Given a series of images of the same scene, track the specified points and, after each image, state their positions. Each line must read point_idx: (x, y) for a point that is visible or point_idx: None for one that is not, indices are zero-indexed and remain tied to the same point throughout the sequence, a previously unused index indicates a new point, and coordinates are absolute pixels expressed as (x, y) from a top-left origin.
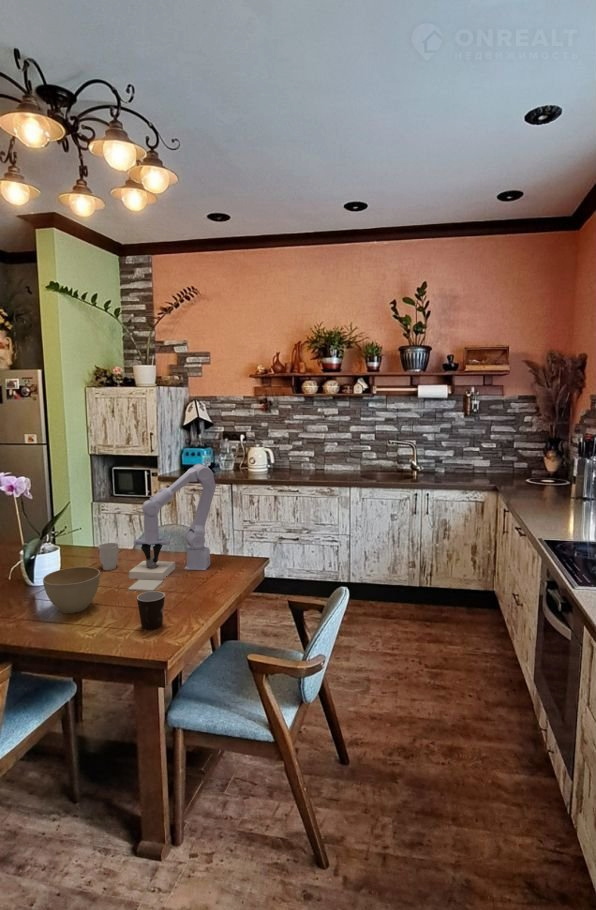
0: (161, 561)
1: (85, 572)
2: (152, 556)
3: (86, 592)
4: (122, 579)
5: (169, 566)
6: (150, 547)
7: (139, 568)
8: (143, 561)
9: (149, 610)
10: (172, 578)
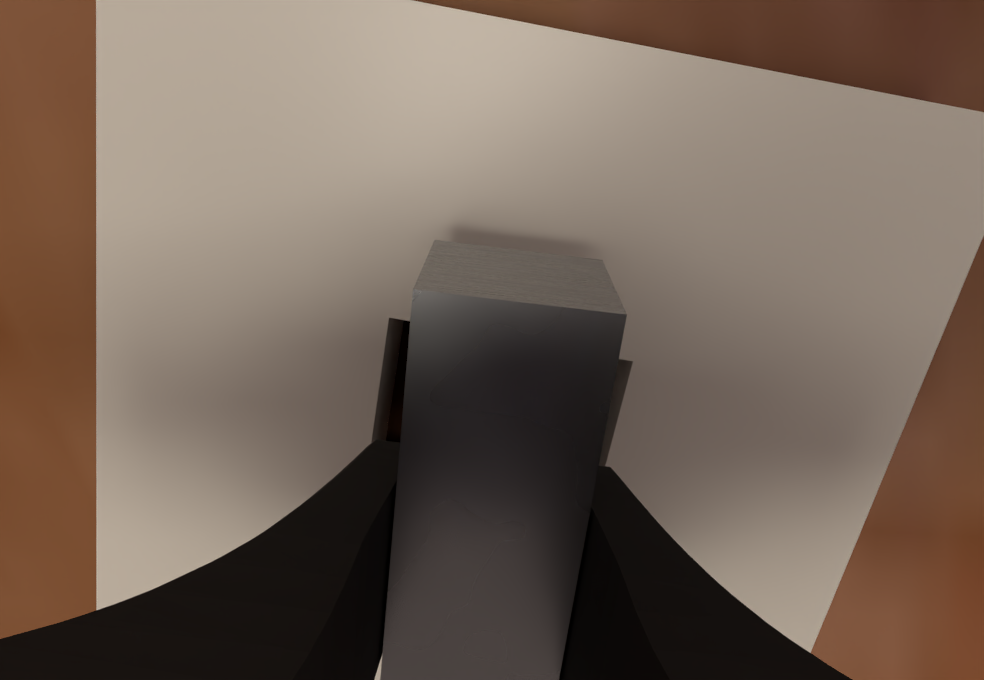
0: (645, 65)
1: None
2: (470, 538)
3: None
4: (62, 608)
5: (880, 471)
6: (316, 648)
7: (235, 548)
8: (131, 32)
9: None
10: (872, 620)
